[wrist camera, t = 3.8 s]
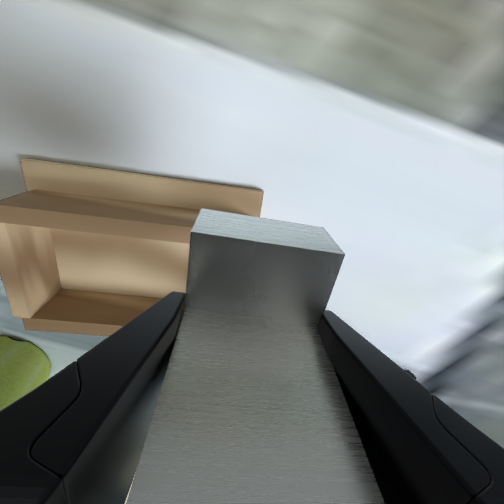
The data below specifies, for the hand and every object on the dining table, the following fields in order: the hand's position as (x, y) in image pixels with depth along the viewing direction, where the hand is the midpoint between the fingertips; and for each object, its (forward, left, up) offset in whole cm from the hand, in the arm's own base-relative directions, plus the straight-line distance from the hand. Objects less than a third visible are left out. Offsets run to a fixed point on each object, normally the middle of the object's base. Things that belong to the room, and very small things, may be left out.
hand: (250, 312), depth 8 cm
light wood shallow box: (-5, +7, -12) cm, 14 cm away
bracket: (0, 0, -2) cm, 2 cm away
